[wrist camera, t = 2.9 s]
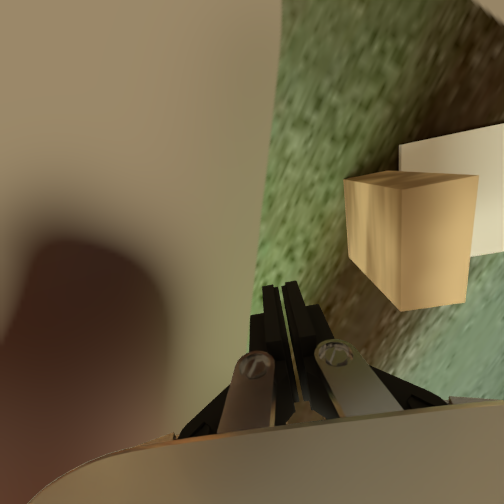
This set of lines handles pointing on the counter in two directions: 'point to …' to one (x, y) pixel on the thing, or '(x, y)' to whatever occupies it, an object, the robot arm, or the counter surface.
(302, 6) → the counter surface
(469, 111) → the counter surface
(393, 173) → the wood block
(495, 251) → the plastic mat
